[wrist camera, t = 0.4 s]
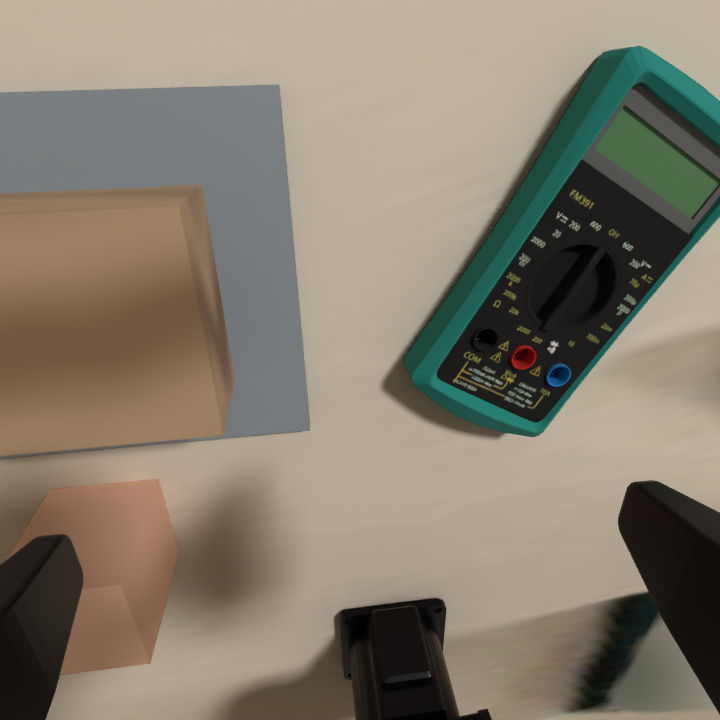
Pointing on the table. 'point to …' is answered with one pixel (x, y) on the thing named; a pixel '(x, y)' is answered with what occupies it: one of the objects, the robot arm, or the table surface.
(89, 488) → the terracotta cube
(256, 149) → the grey flat square plate
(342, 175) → the table surface
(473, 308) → the digital multimeter
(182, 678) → the table surface
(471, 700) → the table surface
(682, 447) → the table surface
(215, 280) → the walnut base block
